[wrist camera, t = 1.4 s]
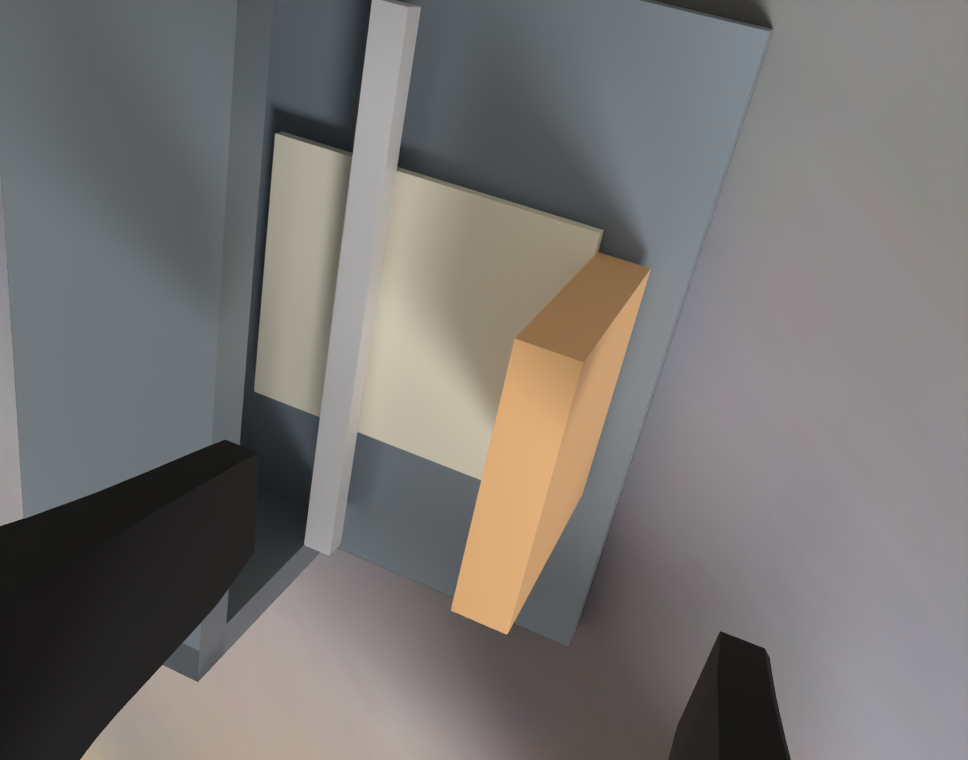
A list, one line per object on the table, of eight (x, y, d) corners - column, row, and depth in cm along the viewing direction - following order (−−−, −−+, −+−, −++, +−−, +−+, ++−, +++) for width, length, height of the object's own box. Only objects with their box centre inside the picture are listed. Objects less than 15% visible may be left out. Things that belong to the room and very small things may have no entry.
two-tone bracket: (657, 246, 19) (591, 335, 14) (577, 510, 22) (501, 653, 17) (282, 131, 21) (116, 173, 16) (260, 386, 24) (116, 484, 19)
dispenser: (773, 29, 17) (731, 51, 11) (577, 624, 25) (490, 825, 19) (218, -104, 21) (-43, -140, 15) (192, 461, 28) (13, 591, 22)
